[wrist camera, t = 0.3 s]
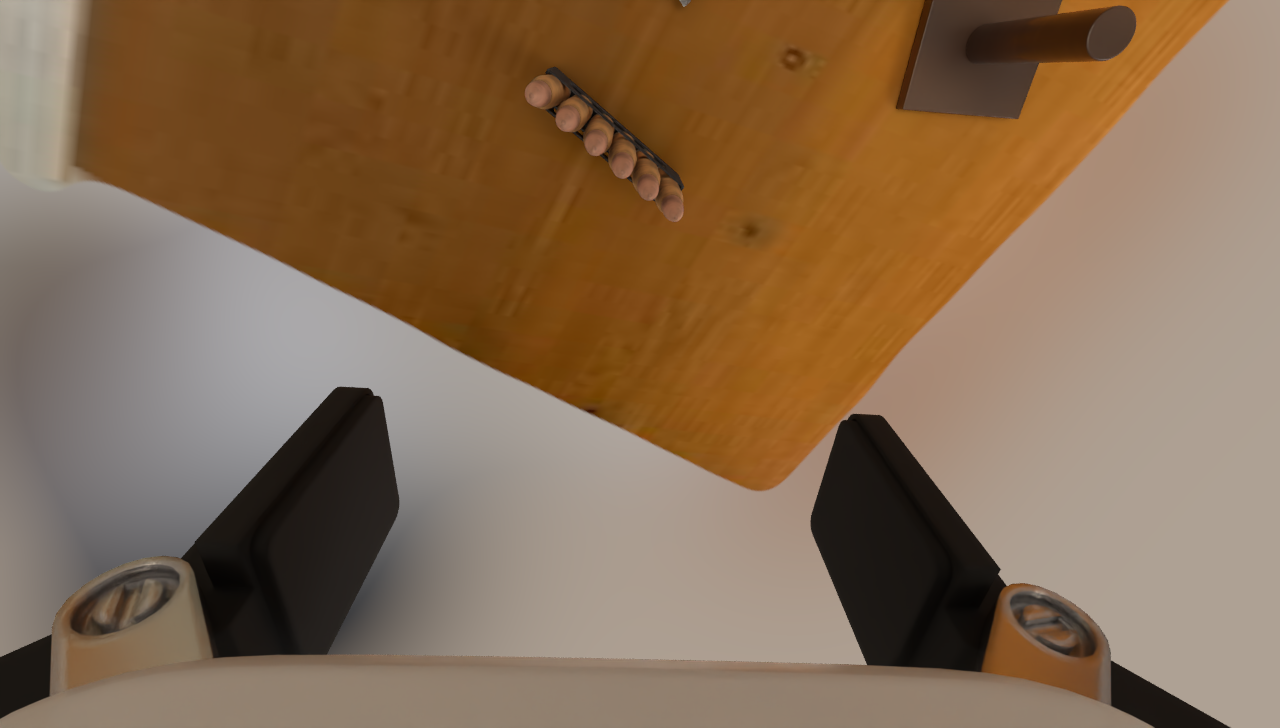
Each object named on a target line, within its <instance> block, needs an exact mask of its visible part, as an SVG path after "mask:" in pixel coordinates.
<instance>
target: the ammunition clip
mask: <svg viewBox="0 0 1280 728" xmlns="http://www.w3.org/2000/svg"><path fill="white" fill-rule="evenodd" d="M545 73H546V74H549V75H540V76H537V77H535V78H534V79H533V80H532V81H531V82H530V84H529V85H528V86H527V87H526V90H525V97H526V100H527V101H528V103H529V104H531V105H532V106H535V107H538V108H540V109H545V110H546V111H548V112H549V113H550V114H551V115H552V116H554V117H555V118H556V124H557V126H558V128H559V129H561V130H562V131H565V132H573V133H574V134H575V135H576V136H577V137H579V138H580V139H581V140H582V141H583V142H584V145H585V148H586V150H587V152H588V153H589V154H591V155H593V156H598V155H600V156H601V157H602V158H604V159H605V160H606V161H607V162H608V163H609V166H610V168H611V169H612V171H613V173H614V174H615V175H616V176H617V177H618V178H621V179H623V178H627V179H629V180H630V181H631V182H632V183H633V186H634V188H635V189H636V190H637V191H638V193H639V194H640V196H641V197H642V198H643V199H645V200H654V201H655V202H656V205H657V207H658V208H659V210H660V211H662V212H663V214H664V216H665V217H666V218H667V219H668V220H670V221H673V222H677V221H679V220H680V219H681V218H682V216H683V212H684V207H683V194H682V192H681V191H682V189H683V188H684V186H683V183H682V181H681V179H680V177H679V175H678V174H677V173H676V172H675V171H674V170H673V169H672V168H670V167H669V166H668V165H667V164H666V163H665V162H664V161H662V160H661V159H660V158H659V157H658V156H657V155H656V154H654V153H653V152H652V151H651V150H650V149H649V148H648V147H646V146H645V145H644V144H643V143H642V142H641V141H640V140H639V139H637V138H636V137H635V136H634V135H633V134H632V133H631V132H629V131H628V130H627V129H626V128H625V127H624V126H623V125H621V124H620V123H619V122H618V121H617V120H616V119H615V118H613V117H612V116H611V115H610V114H609V113H608V112H607V111H605V110H604V109H603V108H602V107H601V106H600V105H599V104H598V103H596V102H595V101H594V100H593V99H592V98H591V97H590V96H588V95H587V94H586V93H585V92H584V91H583V90H582V89H580V88H579V87H578V86H577V85H576V84H575V83H574V82H572V81H571V80H570V79H569V78H568V77H567V76H566V75H564V74H563V73H562V72H561V71H560V70H559V69H558V68H557V67H552V68H549V69H547V71H546V72H545ZM554 108H555V109H556V110H557V112H555V111H554ZM578 130H582V131H583V132H584V134H583V136H582V135H581V134H580V133H579V132H578ZM604 152H608V153H609V156H608V157H607V156H606V155H605V154H604ZM630 175H632V177H631V176H630ZM677 183H678V184H677Z"/></svg>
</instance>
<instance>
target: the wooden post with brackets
mask: <svg viewBox="0 0 1280 728" xmlns="http://www.w3.org/2000/svg"><path fill="white" fill-rule="evenodd" d="M690 1H691V0H680V2H681V3H682V5H683V6H684V7H685V6H686V5H687V4H688V3H689V2H690Z"/></svg>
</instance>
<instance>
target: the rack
mask: <svg viewBox="0 0 1280 728" xmlns="http://www.w3.org/2000/svg"><path fill="white" fill-rule="evenodd" d="M1061 2H1062V0H925V4H924V8H923V11H922V15H921V19H920V22H919V26H918V30H917V33H916V37H915V41H914V45H913V48H912V52H911V56H910V59H909V63H908V67H907V70H906V74H905V78H904V81H903V85H902V89H901V93H900V96H899V100H898V104H897V107H896V109H903V110H914V111H926V112H939V113H951V114H963V115H975V116H987V117H999V118H1011V119H1018V118H1019V115H1020V113H1021V110H1022V107H1023V105H1024V102H1025V99H1026V97H1027V94H1028V91H1029V89H1030V86H1031V83H1032V80H1033V78H1034V75H1035V72H1036V70H1037V67H1038V64H1039V63H1049V62H1086V61H1106V60H1109V59H1111V58H1113V57H1115V56H1117V55H1118V54H1120V53H1121V52H1122V51H1123V50H1124V49H1125V48H1126V47H1127V45H1128V44H1129V43H1130V41H1131V39H1132V37H1133V35H1134V32H1135V29H1136V17H1135V14H1134V13H1133V11H1132V10H1131V9H1130V8H1128V7H1126V6H1113V7H1106V8H1098V9H1091V10H1084V11H1077V12H1069V13H1062V14H1057V13H1058V10H1059V8H1060V5H1061Z"/></svg>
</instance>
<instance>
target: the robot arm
mask: <svg viewBox="0 0 1280 728" xmlns="http://www.w3.org/2000/svg"><path fill="white" fill-rule="evenodd" d="M398 510H399V495H398V490H397V484H396V478H395V472H394V466H393V460H392V454H391V448H390V442H389V436H388V430H387V424H386V418H385V413H384V407H383V402H382V399H381V397H379V396H374V395H373V392H372V391H371V389H369V388H355V387H337V388H336V389H334V390H333V391H332V393H330V395H329V396H328V397H327V398H326V399H325V400H324V401H323V402H322V403H321V404H320V406H319V407H318V408H317V409H316V410H315V411H314V412H313V413H312V414H311V416H309V418H308V419H307V420H306V421H305V422H304V423H303V424H302V425H301V426H300V427H299V428H298V430H297V431H296V432H295V433H294V434H293V435H292V436H291V438H289V439H288V441H287V442H286V443H285V444H284V445H283V446H282V447H281V448H280V449H279V450H278V452H277V453H276V454H275V455H274V456H273V457H272V458H271V459H270V460H269V461H268V462H267V463H266V465H265V466H264V467H263V468H262V469H261V470H260V471H259V472H258V473H257V475H256V476H255V477H254V478H253V479H252V480H251V481H250V482H249V483H248V484H247V485H246V487H245V488H244V489H243V490H242V491H241V492H240V493H239V494H238V495H237V496H236V498H235V499H234V500H233V501H232V502H231V503H230V504H229V505H228V506H227V507H226V508H225V509H224V511H223V512H222V513H221V514H220V515H219V516H218V517H217V518H216V520H215V521H214V522H213V523H212V524H211V525H210V526H209V527H208V528H207V529H206V530H205V531H204V533H203V534H202V535H201V536H200V537H199V538H198V539H197V540H196V541H195V544H194V545H193V546H192V547H191V548H190V549H189V550H188V551H187V552H186V553H185V555H184V556H183V557H182V558H181V559H180V558H178V557H169V556H158V557H150V558H143V559H140V560H136V561H133V562H129V563H126V564H123V565H121V566H118V567H117V568H114V569H112V570H109V571H107V572H105V573H103V574H101V575H100V576H98V577H97V578H95V579H93V580H92V581H90V582H88V583H87V584H85V585H84V586H82V587H81V588H80V589H79V590H78V591H76V592H75V593H74V594H73V595H72V596H71V597H69V598H68V599H67V600H66V602H65V603H64V604H63V606H62V607H61V608H60V610H59V611H58V612H57V614H56V616H55V620H54V623H53V626H52V634H51V635H49V636H47V637H45V638H42V639H40V640H38V641H36V642H33V643H31V644H29V645H27V646H24V647H22V648H20V649H18V650H15V651H13V652H11V653H9V654H6V655H4V656H2V657H0V728H1230V727H1228V726H1227V725H1224V724H1223V723H1221V722H1220V721H1218V720H1216V719H1214V718H1212V717H1211V716H1209V715H1207V714H1205V713H1204V712H1202V711H1200V710H1198V709H1196V708H1195V707H1193V706H1191V705H1189V704H1187V703H1186V702H1184V701H1182V700H1180V699H1179V698H1177V697H1175V696H1173V695H1171V694H1170V693H1168V692H1166V691H1164V690H1163V689H1161V688H1159V687H1157V686H1155V685H1154V684H1152V683H1150V682H1148V681H1146V680H1145V679H1143V678H1141V677H1139V676H1138V675H1136V674H1134V673H1132V672H1131V671H1129V670H1127V669H1125V668H1123V667H1122V666H1120V665H1118V664H1116V663H1114V662H1113V661H1111V656H1110V655H1111V652H1110V648H1109V644H1108V640H1107V639H1106V637H1105V635H1104V634H1103V632H1102V630H1101V629H1100V627H1099V626H1098V625H1097V624H1096V623H1095V622H1094V621H1093V620H1092V619H1091V618H1090V617H1089V616H1088V614H1086V613H1085V612H1084V611H1083V610H1081V609H1080V608H1079V607H1077V606H1076V605H1075V604H1074V603H1072V602H1071V601H1069V600H1067V599H1065V598H1064V597H1062V596H1060V595H1058V594H1057V593H1055V592H1052V591H1050V590H1047V589H1044V588H1042V587H1039V586H1035V585H1030V584H1025V583H1020V584H1011V585H1009V586H1006V584H1005V583H1004V582H1003V580H1002V579H1001V578H1000V576H999V575H998V573H999V571H1000V568H999V567H998V565H997V564H996V563H995V561H994V560H993V559H992V558H991V556H990V555H989V554H988V552H987V551H986V550H985V549H984V547H983V546H982V545H981V543H980V542H979V541H978V539H977V538H976V537H975V535H974V534H973V533H972V532H971V531H970V529H969V528H968V526H967V525H966V524H965V522H964V521H963V520H962V519H961V517H960V516H959V515H958V513H957V512H956V511H955V510H954V508H953V507H952V506H951V504H950V503H949V502H948V500H947V499H946V498H945V496H944V495H943V494H942V493H941V491H940V490H939V489H938V487H937V486H936V485H935V484H934V482H933V481H932V480H931V479H930V477H929V476H928V474H926V472H925V470H924V469H923V468H922V467H921V465H920V464H919V463H918V461H917V460H916V459H915V457H913V455H912V454H911V452H910V451H909V450H908V448H907V447H906V446H905V444H904V443H903V442H902V441H901V439H900V438H899V437H898V435H897V434H896V433H895V431H894V430H893V429H892V428H891V426H890V425H889V424H888V422H887V421H886V420H885V419H884V418H883V417H882V416H880V415H866V414H852V415H851V416H850V417H849V418H848V420H843V421H842V422H841V423H840V425H839V428H838V431H837V434H836V437H835V441H834V444H833V447H832V450H831V453H830V456H829V460H828V463H827V466H826V470H825V473H824V476H823V480H822V483H821V486H820V489H819V492H818V495H817V499H816V502H815V505H814V509H813V512H812V515H811V530H812V534H813V536H814V539H815V541H816V543H817V546H818V548H819V551H820V553H821V555H822V558H823V560H824V563H825V565H826V567H827V570H828V572H829V575H830V577H831V579H832V582H833V584H834V586H835V589H836V591H837V593H838V596H839V598H840V601H841V603H842V606H843V608H844V611H845V613H846V615H847V618H848V620H849V623H850V625H851V627H852V629H853V632H854V634H855V637H856V639H857V642H858V644H859V646H860V649H861V651H862V654H863V656H864V658H865V661H866V663H867V665H849V664H810V663H808V664H807V663H773V662H736V661H734V662H733V661H696V660H695V661H694V660H649V659H602V658H551V657H492V656H486V657H485V656H428V655H427V656H426V655H327V653H328V651H329V649H330V647H331V645H332V643H333V641H334V639H335V637H336V635H337V633H338V631H339V629H340V627H341V625H342V623H343V621H344V619H345V618H346V616H347V614H348V612H349V610H350V607H351V605H352V604H353V602H354V600H355V598H356V596H357V594H358V592H359V590H360V588H361V586H362V584H363V582H364V580H365V578H366V576H367V574H368V572H369V570H370V568H371V566H372V564H373V562H374V560H375V559H376V557H377V554H378V553H379V551H380V549H381V547H382V545H383V543H384V541H385V539H386V537H387V535H388V533H389V531H390V529H391V527H392V525H393V523H394V521H395V519H396V517H397V514H398Z"/></svg>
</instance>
